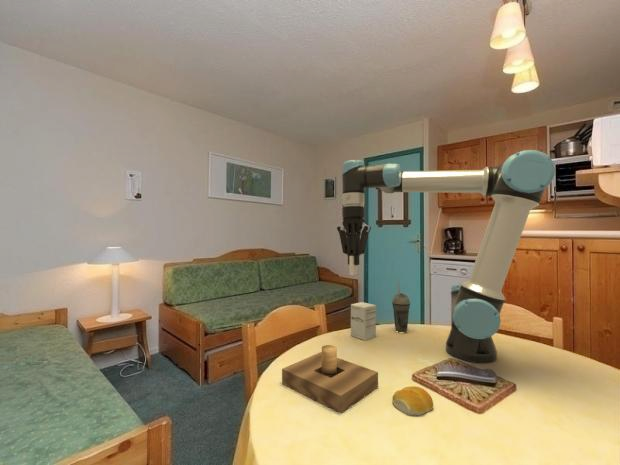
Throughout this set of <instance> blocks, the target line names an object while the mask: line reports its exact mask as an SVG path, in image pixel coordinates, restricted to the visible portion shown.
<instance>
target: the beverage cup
mask: <svg viewBox="0 0 620 465" xmlns="http://www.w3.org/2000/svg"><path fill="white" fill-rule="evenodd" d="M396 284H397V292H398V293H397V294H395V295H394V297H393V299H392V302H391V304H392V309H393V318H394V319H393V320H394V328H395V332H396V331H398V332H397V333H399V332H406V331H407V332H408V326H409V325H408V324H409V314H410V308H411V300H410V298H409V297H408V295H407V294H404V293H401V291H400V283H399V282H397V283H396ZM407 332H406V333H407Z"/></svg>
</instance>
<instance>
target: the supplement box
mask: <svg viewBox="0 0 620 465" xmlns="http://www.w3.org/2000/svg"><path fill="white" fill-rule="evenodd" d="M375 336H377V304H372V303H367V302H363V301H360V302H356V303H351V304H350V337H353V338H357V339H359V340H363V341H368V340H370V338H371V339H374V338H375ZM367 339H368V340H367Z"/></svg>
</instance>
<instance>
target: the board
mask: <svg viewBox="0 0 620 465" xmlns="http://www.w3.org/2000/svg"><path fill="white" fill-rule="evenodd" d="M321 369H322V351H319V352H318V353H315V354H313V355H311V356H309V357H306V358H303V359H301V360H299V361H297V362H294V363H292V364H290V365H288V366H285V367H283V368H282V369H281V384H282V385H284V386H286V387H288V388H290V389H292V390H293V391H296V392H298V393H300V394H302V395H304V396H306V397H308V398H310V399H312V400H314V401H315V402H317V403H319V404H322V405H323V406H325V407H327V408H330V409H331V410H332V411H335V412H337V413H339V414H342V413H344V412H346V411H347V410H348V409H350V408H351V407H352V406H354V405H355V404H357V403H358V402H360V401H361V400H363V398H366V396H368V395H369V394H371V393H372V392H374V391H375V390H377V389H379V372H378V371H376V370H373V369H370V368H368V367H365V366H362V365H359V364H356V363H353V362H350V361H349V360H345V359H343V358H339V357H337V375H336V376H334V377H332V378H330V377H327V376H325V375H323V374H322V372H321Z"/></svg>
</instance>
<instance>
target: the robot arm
mask: <svg viewBox="0 0 620 465" xmlns="http://www.w3.org/2000/svg"><path fill="white" fill-rule="evenodd" d="M341 173H342V174H341V179H342V182H341V184H342V205H343V207H342V209H341V210H342V218H343V220H342V224H341V225H340V226H337V227H336V230H337V231H338V235H339V239H340V243H341V250H342V253H343V254H345V255H347V265H348V266H349V276H356V275H359V274H358V266H359V265H360V256H361V255H363V254H365V253H366V248H367V242H368V238H369V234H370V232H371V230H372V227H371V225H368V224H366V222H365V207H364V205H365V189H380V190H381V191H382V192H384V193H385V194H394V193H439V194H440V193H442V194H443V193H446V194H447V193H449V194H450V193H454V194H457V193H458V194H481V195H482V196H483V197H491V198H492V199H493V201H494V202H495V203H494V206H493V209H492V211H491V214H490V217H489V220H488V224H487V225H486V229H485V231H484V235H483V238H482V241H481V243H480V247H479V250H478V253H477V256H476V258H475V261H474V263H473V266H472V269H471V273H470V275H469V278H468V279H467V281H464V282H462V283H461V284H453V285H451V288H450V289H451V290H450V296H451V297H450V299H451V300H450V302H451V305H450V306H451V307H450V308H451V309H450V310H451V314H450V316H451V317H450V322H451V327H450V331H449V334H448V336H447V339H446V342H445V352H447V353H448V354H449V355H450V356H452V357H453V358H456V359H460V360H463V361H466V362H472V363H473V362H474V363H492V362H494V361H497V358H498V356H497V354H498V353H497V348H496V345H495V342H494V340H493V336H494V335H496V334H497V332H498V330H499V329H500V326H501V315H500V314H501V312H502V309H503V306H504V303H505V301H506V297H505V295H504V293H503V292H502V290H503V287H504V284H505V281H506V278H507V277H508V273H509V270H510V267H511V264H512V262H513V259H514V257H515V254H516V251H517V248H518V245H519V242H520V239H521V237H522V234H523V231H524V230H525V229H524V228H525V226H526V224H527V220H528V218H529V214H530V211H532V209H534V208H536V207H539V205H540V204H541V201H542V198H543V195H544V193H545V190H546V188H548V187H549V185H550V184H551V183H552V181H553V180H554V178H555V174H556V166H555V163H554V161H553V160H552V158H551V157H550V156H549V155H548V154H547V153H544V152H542V151H540V150H535V149H527V150H521V151H518V152H516V153H514V154H512V155H510V156H509V157H508V158H506V160H505V161H504V163H503V164H501V165H496V166H485V167H484V168H483V169H463V170H462V169H461V170H459V169H457V170H455V169H454V170H453V169H452V170H407V171H406V170H405V171H402V170H401V165H400V164H398V163H390V162H389V163H386V164H376V165H375V164H374V165H365V162H364V161H363V160H361V159H350V160H346V161H345V162H344V163H343V164H342V172H341Z"/></svg>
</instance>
